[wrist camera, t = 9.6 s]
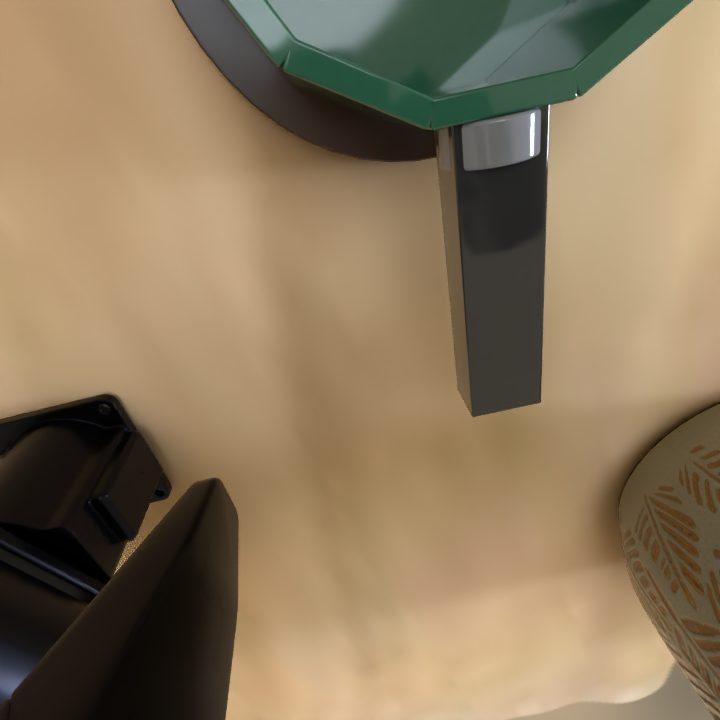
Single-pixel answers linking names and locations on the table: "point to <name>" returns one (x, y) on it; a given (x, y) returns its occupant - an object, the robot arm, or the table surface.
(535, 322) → the pot
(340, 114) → the dark round saucer
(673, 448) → the vase
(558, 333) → the table surface
